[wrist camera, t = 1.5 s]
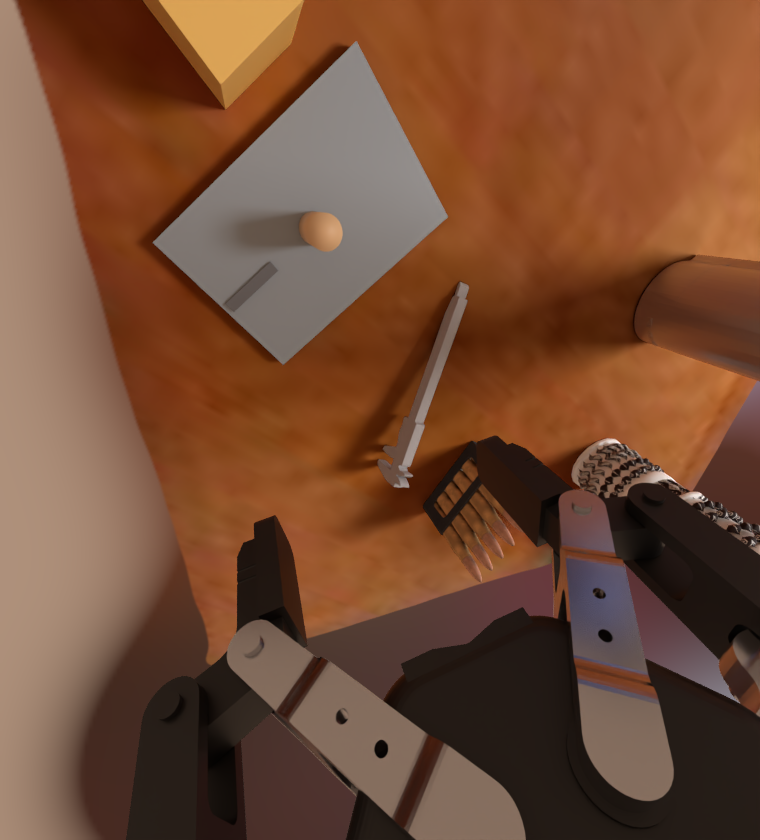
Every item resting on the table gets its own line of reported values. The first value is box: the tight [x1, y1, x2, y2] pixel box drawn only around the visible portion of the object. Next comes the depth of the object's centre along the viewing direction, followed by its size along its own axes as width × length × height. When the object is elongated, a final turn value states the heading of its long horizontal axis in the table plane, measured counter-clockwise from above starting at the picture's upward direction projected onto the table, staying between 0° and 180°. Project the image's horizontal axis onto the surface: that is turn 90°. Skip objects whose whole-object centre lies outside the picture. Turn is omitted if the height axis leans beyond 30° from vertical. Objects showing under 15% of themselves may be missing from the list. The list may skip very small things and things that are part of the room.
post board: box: [153, 41, 448, 365], centre depth 25 cm, size 18×12×6 cm, turn 127°
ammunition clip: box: [423, 441, 524, 582], centre depth 41 cm, size 11×2×12 cm, turn 147°
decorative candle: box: [571, 438, 760, 555], centre depth 43 cm, size 9×9×25 cm
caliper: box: [378, 282, 469, 488], centre depth 35 cm, size 20×1×6 cm, turn 157°
